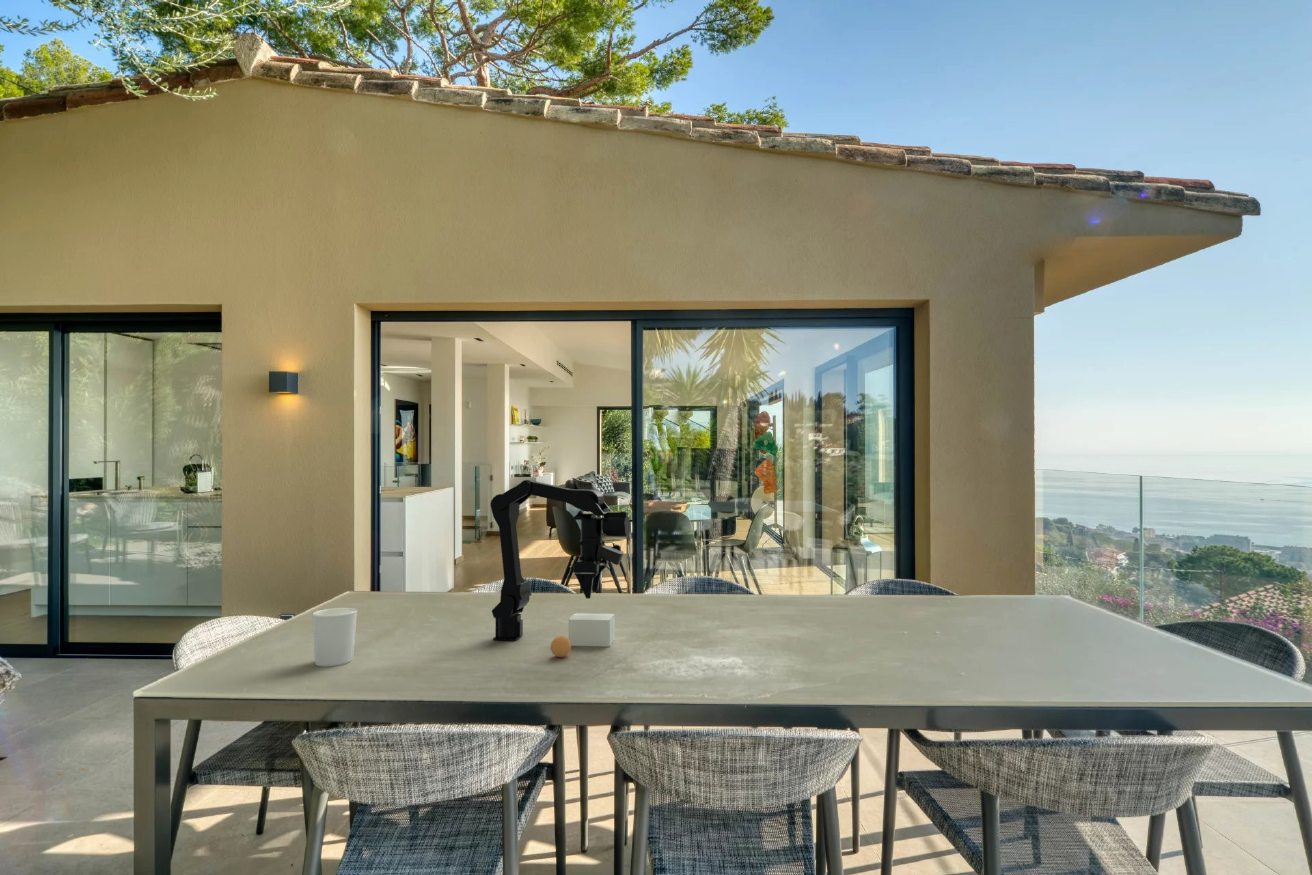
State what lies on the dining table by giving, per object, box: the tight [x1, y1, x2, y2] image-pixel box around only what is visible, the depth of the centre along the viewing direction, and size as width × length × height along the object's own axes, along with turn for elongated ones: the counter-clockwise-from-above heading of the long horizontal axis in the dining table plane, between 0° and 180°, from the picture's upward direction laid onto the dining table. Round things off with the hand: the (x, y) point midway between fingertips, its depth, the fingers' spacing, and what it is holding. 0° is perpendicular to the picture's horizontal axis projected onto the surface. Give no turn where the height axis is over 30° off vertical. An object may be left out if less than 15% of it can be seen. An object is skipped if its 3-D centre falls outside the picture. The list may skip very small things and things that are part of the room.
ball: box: [550, 635, 572, 658], centre depth 160 cm, size 5×5×5 cm
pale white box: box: [567, 612, 616, 648], centre depth 173 cm, size 11×8×7 cm
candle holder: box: [312, 607, 358, 668], centre depth 157 cm, size 10×10×12 cm
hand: (591, 595), depth 174 cm, fingers open, 9 cm apart
